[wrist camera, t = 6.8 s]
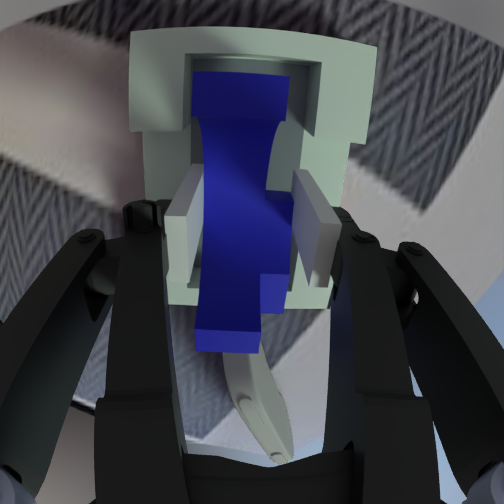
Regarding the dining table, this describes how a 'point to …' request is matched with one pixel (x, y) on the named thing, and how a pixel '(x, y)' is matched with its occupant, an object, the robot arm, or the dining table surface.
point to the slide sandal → (259, 403)
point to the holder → (288, 132)
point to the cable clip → (240, 209)
